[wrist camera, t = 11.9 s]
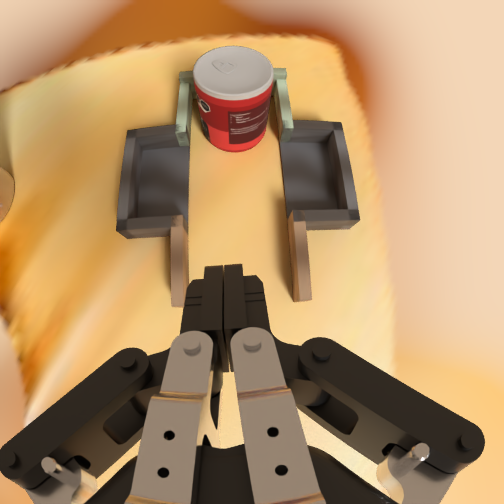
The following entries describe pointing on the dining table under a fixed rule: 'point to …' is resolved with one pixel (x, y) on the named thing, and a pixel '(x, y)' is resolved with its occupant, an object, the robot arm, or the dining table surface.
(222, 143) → the canned food
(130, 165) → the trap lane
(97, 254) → the dining table surface
